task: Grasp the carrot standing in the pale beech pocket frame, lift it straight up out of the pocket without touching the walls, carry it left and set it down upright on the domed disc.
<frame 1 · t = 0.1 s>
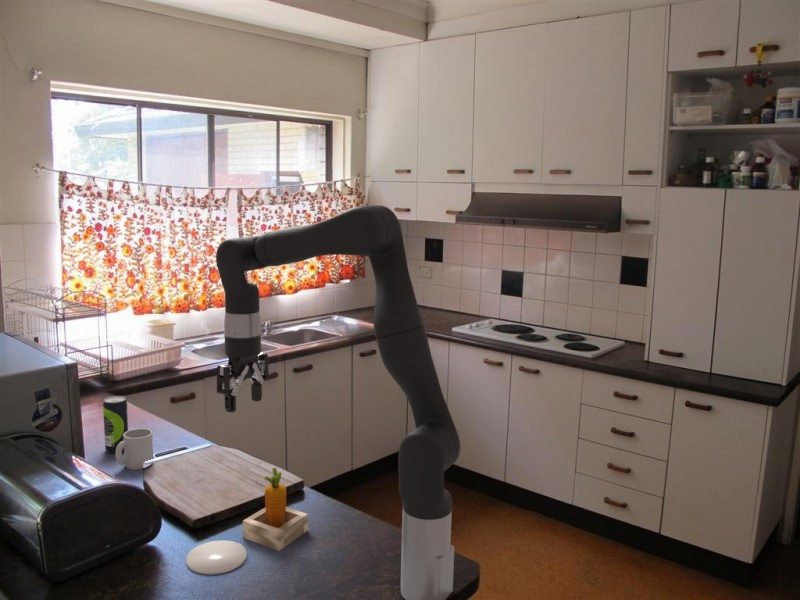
hand: (244, 405, 151), 29 cm above the countertop, fingers open, 8 cm apart
carrot: (275, 535, 154), on the countertop
domed disc: (216, 558, 144), on the countertop
beverage can: (117, 450, 198), on the countertop
pocket frame: (275, 534, 154), on the countertop
cup: (134, 466, 188), on the countertop
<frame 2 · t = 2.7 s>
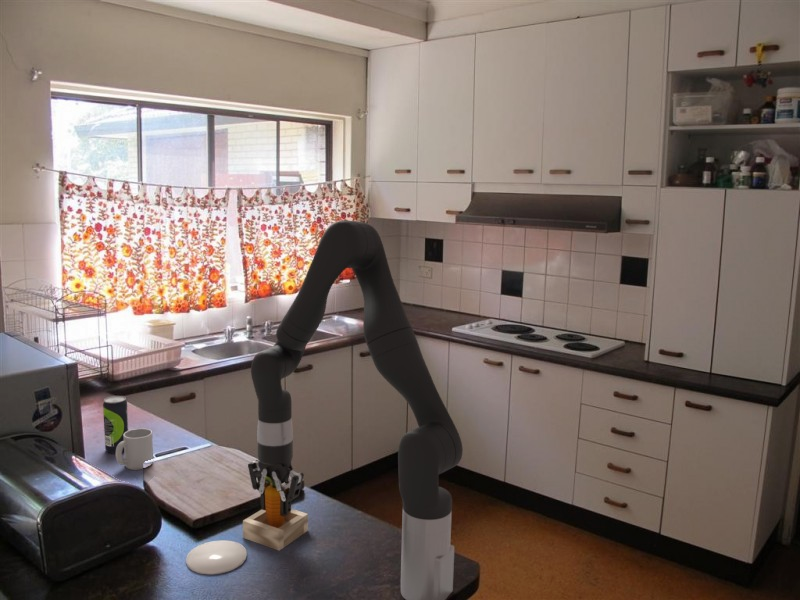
hand: (275, 511, 153), 5 cm above the countertop, fingers closed on carrot, 4 cm apart
carrot: (275, 535, 154), on the countertop, touching gripper
everything else where it was.
when the fingers open (7 cm above the countertop, at t = 8.7 s): carrot stays where it is, resting on domed disc.
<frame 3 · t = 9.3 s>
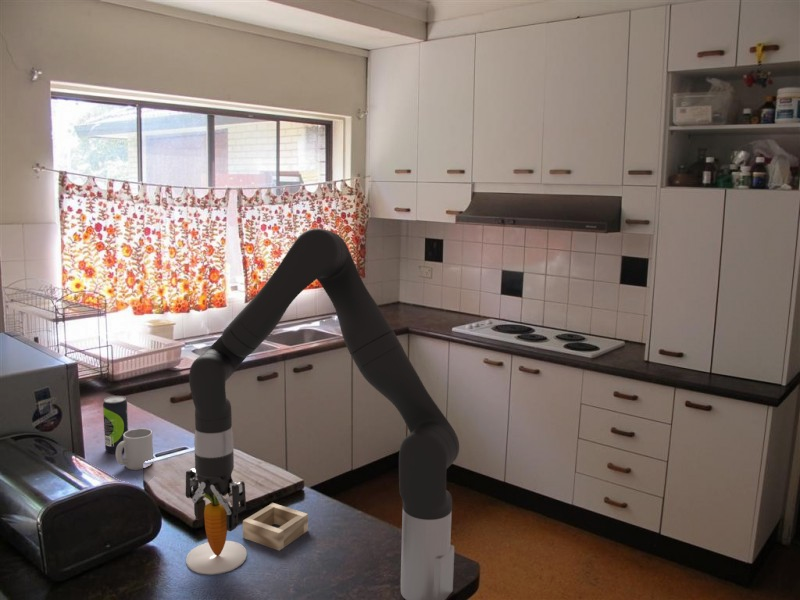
hand: (215, 523, 143), 8 cm above the countertop, fingers open, 8 cm apart
carrot: (217, 556, 144), resting on domed disc
everything else where it was.
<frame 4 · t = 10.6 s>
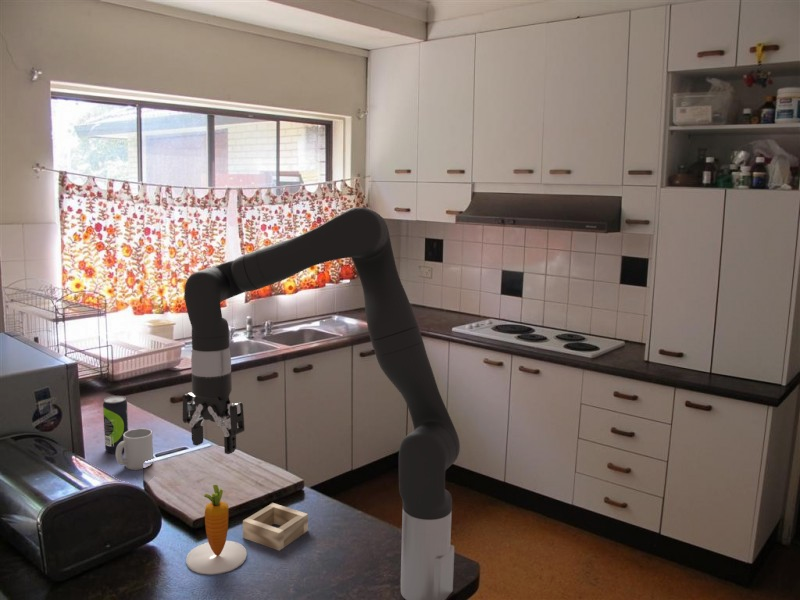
hand: (213, 448, 140), 24 cm above the countertop, fingers open, 8 cm apart
nothing on the countertop moved.
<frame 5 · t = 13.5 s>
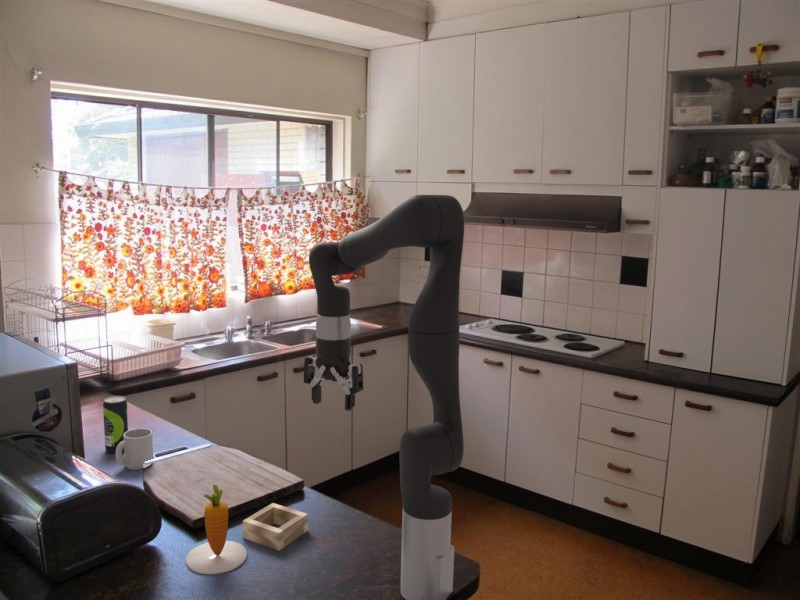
hand: (332, 406, 154), 28 cm above the countertop, fingers open, 8 cm apart
nothing on the countertop moved.
at the end: carrot 0.2 cm from the domed disc (horizontally); carrot tilted 0°; carrot touching domed disc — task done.
